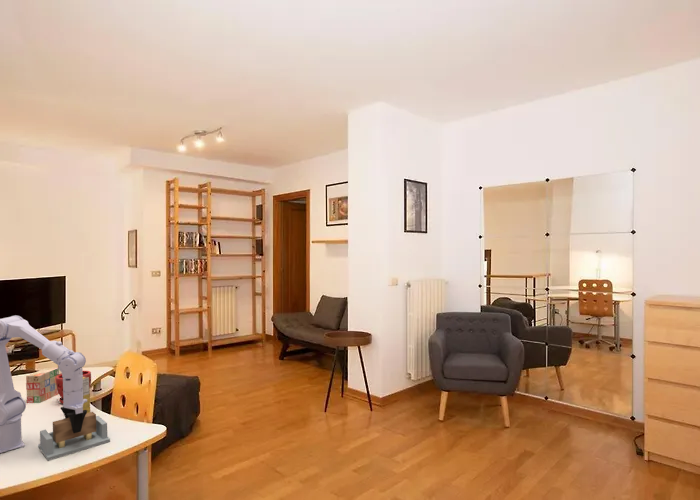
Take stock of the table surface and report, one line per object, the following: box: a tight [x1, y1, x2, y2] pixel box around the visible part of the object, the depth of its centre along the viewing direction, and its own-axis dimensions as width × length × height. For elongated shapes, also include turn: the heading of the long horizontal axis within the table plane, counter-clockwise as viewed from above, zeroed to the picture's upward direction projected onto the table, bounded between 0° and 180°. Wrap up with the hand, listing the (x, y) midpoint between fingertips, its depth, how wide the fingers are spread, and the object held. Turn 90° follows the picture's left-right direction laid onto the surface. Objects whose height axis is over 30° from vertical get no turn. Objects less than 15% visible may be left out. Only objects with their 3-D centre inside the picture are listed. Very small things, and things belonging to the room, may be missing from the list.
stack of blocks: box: [25, 367, 62, 404], centre depth 202 cm, size 21×6×12 cm, turn 178°
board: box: [52, 411, 97, 443], centre depth 149 cm, size 12×4×6 cm, turn 136°
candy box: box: [83, 376, 91, 413], centre depth 177 cm, size 9×4×15 cm, turn 60°
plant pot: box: [56, 370, 92, 404], centre depth 193 cm, size 13×13×12 cm
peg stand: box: [37, 415, 111, 462], centre depth 149 cm, size 18×14×6 cm
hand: (74, 429), depth 149 cm, fingers open, 6 cm apart
